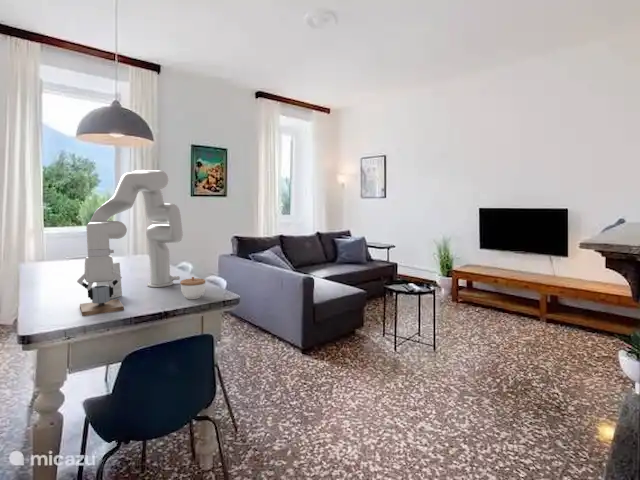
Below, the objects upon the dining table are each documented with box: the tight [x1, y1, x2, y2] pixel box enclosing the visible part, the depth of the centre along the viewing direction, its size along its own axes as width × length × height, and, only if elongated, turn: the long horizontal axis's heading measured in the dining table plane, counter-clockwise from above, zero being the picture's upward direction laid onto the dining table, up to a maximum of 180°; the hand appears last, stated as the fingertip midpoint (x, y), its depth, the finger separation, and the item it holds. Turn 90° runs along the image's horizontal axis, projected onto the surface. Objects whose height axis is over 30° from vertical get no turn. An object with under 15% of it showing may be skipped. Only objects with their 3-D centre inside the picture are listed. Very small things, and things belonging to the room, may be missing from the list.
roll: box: [91, 285, 111, 303], centre depth 151 cm, size 6×6×6 cm
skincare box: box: [95, 261, 123, 300], centre depth 170 cm, size 8×7×16 cm
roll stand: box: [79, 298, 125, 317], centre depth 151 cm, size 14×14×6 cm
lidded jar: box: [180, 276, 206, 300], centre depth 170 cm, size 11×11×9 cm
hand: (100, 297), depth 151 cm, fingers closed on roll, 5 cm apart
